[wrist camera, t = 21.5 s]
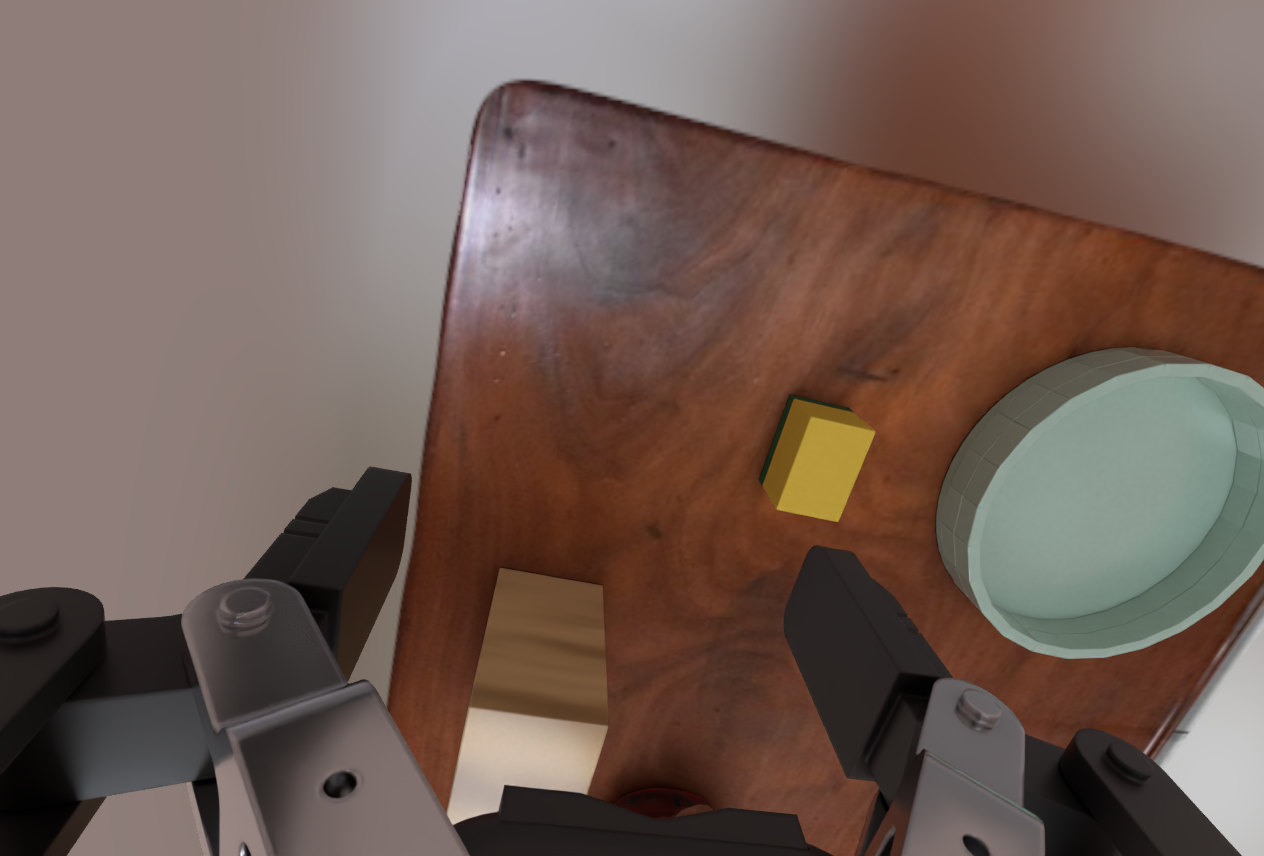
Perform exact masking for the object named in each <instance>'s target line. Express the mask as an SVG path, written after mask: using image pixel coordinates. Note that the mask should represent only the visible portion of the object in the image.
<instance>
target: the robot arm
mask: <svg viewBox="0 0 1264 856" xmlns="http://www.w3.org/2000/svg"><path fill="white" fill-rule="evenodd" d="M411 483H412V477H411V474H410V473H404V472H399V471H393V470H387V469H381V468H376V467H369V468H368V469H367V470H366V471H365V473H364V474H363V475H362V477H361V478H360V480H359V481H358V482H357V484H356V485H355V487H354V488H353V490H345V489H339V488H334V487H333V488H331V489H329V490H327V491H325V492H323V493H321V494H319V495H317V496H315V497H313V498H311V499H309V500H308V501H307V503H306V504H305V505H304V506H303V507H302V509H301V510H300V511H299V512H298V514H297V515H296V517H295V519H293V520H292V521H291V522H290V523H289V524H288V526H287V527H286V528H285V529H284V533H281V534H280V535H279V537H278V538H277V539H276V540H275V541H274V543H273V544H272V545H271V546H270V547H269V549H268V550H267V551H266V552H265V554H264V555H263V556H262V557H261V558H260V560H259V561H258V562H257V563H256V564H255V566H254V567H253V568H252V569H251V571H250V572H249V573H248V574H247V575H246V577H245V578H244V579H242V580H235V581H231V582H227V583H223V584H220V585H218V586H215V587H213V588H210V589H208V590H206V591H204V592H203V593H201V594H200V595H198V596H197V597H196V598H195V599H193V600H192V601H191V602H190V603H189V604H188V606H187V607H186V608H185V610H184V612H183V614H178V615H173V616H165V617H154V618H140V619H126V620H114V621H105V616H104V608H103V605H102V603H101V602H100V601H99V599H98V598H96V597H95V596H94V595H92V594H89V593H88V592H85V591H81V590H78V589H72V588H60V587H49V588H38V589H29V590H24V591H18V592H14V593H10V594H7V595H3V596H0V856H67V854H68V853H69V851H70V850H71V848H72V847H73V845H74V844H75V843H76V841H77V839H78V838H79V837H80V835H81V834H82V832H83V831H84V829H85V828H86V826H87V825H88V823H89V822H90V820H91V819H92V817H93V816H94V814H95V813H96V812H97V810H98V809H99V807H100V806H101V804H102V803H103V801H104V800H105V798H106V797H107V796H110V795H116V794H122V793H127V792H133V791H139V790H145V789H150V788H156V787H162V786H168V785H173V784H179V783H185V782H186V787H187V791H188V795H189V799H190V803H191V807H192V811H193V815H194V819H195V823H196V827H197V831H198V835H199V839H200V843H201V847H202V851H203V855H204V856H833V855H831V854H829V853H827V852H825V851H823V850H821V849H819V848H817V847H815V846H813V845H810V844H807V843H806V841H805V838H804V835H803V832H802V829H801V826H800V823H799V820H798V817H797V815H793V814H784V813H774V812H764V811H754V810H745V809H735V808H725V809H719V810H714V811H708V812H702V813H696V814H691V815H685V816H679V817H673V818H667V819H655V818H651V817H648V816H645V815H642V814H640V813H637V812H634V811H631V810H628V809H625V808H622V807H620V806H617V805H614V804H611V803H608V802H605V801H603V800H600V799H597V798H594V797H591V796H588V795H585V794H583V793H579V792H569V791H559V790H549V789H539V788H530V787H520V786H510V785H504V788H503V793H502V797H501V802H500V806H499V810H498V812H493V813H487V814H482V815H479V816H475V817H472V818H469V819H465V820H463V821H460V822H458V823H456V824H453V825H452V823H451V821H450V819H449V817H448V816H447V814H446V812H445V810H444V809H443V807H442V805H441V803H440V802H439V800H438V798H437V796H436V794H435V793H434V791H433V789H432V787H431V786H430V784H429V782H428V780H427V778H426V777H425V775H424V773H423V771H422V770H421V768H420V766H419V764H418V763H417V761H416V759H415V757H414V755H413V754H412V752H411V750H410V748H409V747H408V745H407V743H406V741H405V740H404V738H403V736H402V734H401V732H400V731H399V729H398V727H397V725H396V724H395V722H394V720H393V718H392V717H391V715H390V713H389V711H388V709H387V708H386V706H385V704H384V702H383V701H382V699H381V697H380V696H379V694H378V692H377V690H376V689H375V687H374V686H373V685H372V684H371V683H370V682H369V681H368V680H365V679H364V680H360V681H357V682H354V683H351V684H349V683H348V680H349V678H350V676H351V674H352V672H353V670H354V667H355V665H356V663H357V661H358V659H359V656H360V654H361V652H362V650H363V648H364V645H365V643H366V641H367V639H368V637H369V634H370V632H371V630H372V628H373V626H374V624H375V621H376V619H377V617H378V615H379V612H380V610H381V608H382V606H383V604H384V602H385V599H386V597H387V595H388V592H389V590H390V588H391V586H392V584H393V582H394V580H395V577H396V575H397V572H398V569H399V565H400V561H401V557H402V553H403V547H404V540H405V532H406V524H407V516H408V508H409V499H410V492H411ZM784 632H785V636H786V639H787V642H788V644H789V646H790V648H791V651H792V653H793V655H794V658H795V660H796V662H797V665H798V667H799V669H800V672H801V674H802V676H803V678H804V681H805V683H806V685H807V688H808V690H809V692H810V695H811V697H812V699H813V701H814V704H815V706H816V708H817V711H818V713H819V715H820V718H821V720H822V722H823V725H824V727H825V729H826V731H827V734H828V736H829V738H830V741H831V743H832V745H833V748H834V750H835V752H836V754H837V757H838V759H839V761H840V764H841V766H842V768H843V771H844V773H845V775H846V777H847V778H850V779H859V780H868V781H876V782H877V785H878V787H879V789H878V791H877V793H876V795H875V797H874V799H873V800H872V803H871V805H870V808H869V811H868V814H867V817H866V821H865V824H864V827H863V830H862V833H861V836H860V840H859V843H858V846H857V849H856V852H855V855H854V856H1241V854H1240V853H1239V852H1238V851H1237V850H1236V849H1235V848H1234V847H1233V846H1232V845H1231V844H1230V843H1229V841H1228V840H1227V839H1226V838H1225V837H1224V836H1223V835H1222V834H1221V833H1220V831H1219V830H1218V829H1217V828H1216V827H1215V826H1214V825H1213V824H1212V823H1211V822H1210V821H1209V819H1208V818H1207V817H1206V816H1205V815H1204V814H1203V813H1202V812H1201V811H1200V810H1199V809H1198V808H1197V806H1196V805H1195V804H1194V803H1193V802H1192V801H1191V800H1190V799H1189V798H1188V796H1187V795H1186V794H1185V793H1184V792H1183V791H1182V790H1181V789H1180V788H1179V787H1178V786H1177V785H1176V783H1175V782H1174V781H1173V780H1172V779H1171V778H1170V777H1169V776H1168V775H1167V774H1166V772H1165V771H1164V770H1163V769H1162V768H1161V767H1160V766H1158V765H1157V764H1156V763H1155V762H1154V761H1153V760H1152V759H1150V758H1149V757H1148V756H1147V755H1145V754H1144V753H1143V752H1141V751H1140V750H1138V749H1137V748H1135V747H1134V746H1132V745H1130V744H1129V743H1127V742H1125V741H1124V740H1122V739H1120V738H1118V737H1116V736H1113V735H1111V734H1109V733H1106V732H1103V731H1100V730H1096V729H1081V730H1079V731H1078V732H1077V733H1076V734H1075V736H1074V737H1073V739H1072V740H1071V742H1070V743H1069V745H1068V746H1067V748H1066V749H1063V748H1061V747H1058V746H1055V745H1053V744H1050V743H1047V742H1045V741H1042V740H1039V739H1037V738H1034V737H1031V736H1029V735H1026V734H1025V732H1024V729H1023V726H1022V724H1021V723H1020V721H1019V719H1018V718H1017V717H1016V715H1015V714H1014V713H1013V712H1012V711H1011V710H1010V709H1009V708H1008V707H1007V706H1006V705H1005V704H1004V703H1003V702H1002V701H1000V700H999V699H998V698H996V697H995V696H994V695H992V694H991V693H989V692H988V691H986V690H984V689H982V688H981V687H979V686H976V685H974V684H972V683H969V682H967V681H964V680H960V679H956V678H953V677H952V675H951V674H950V673H949V671H948V670H947V669H946V667H945V666H944V664H943V663H942V662H941V660H940V659H939V658H938V656H937V655H936V653H935V652H934V651H933V649H932V648H931V647H930V645H929V644H928V642H927V641H926V640H925V638H924V637H923V636H922V634H920V633H918V629H917V627H916V626H915V625H914V623H913V622H912V621H911V619H910V618H907V614H906V612H905V611H904V610H903V608H902V607H901V605H900V604H899V603H898V601H897V600H896V599H895V597H894V596H893V595H892V594H890V593H889V592H888V591H887V590H886V589H884V588H883V587H882V586H881V585H880V584H878V583H877V582H876V581H875V580H874V579H872V578H871V577H870V575H869V574H868V573H867V571H866V570H865V568H864V567H863V566H862V564H861V563H860V561H859V560H858V558H857V557H856V556H855V554H854V553H852V552H851V551H846V550H841V549H835V548H829V547H823V546H818V545H817V546H813V547H812V548H811V549H810V550H809V552H808V553H807V555H806V558H805V560H804V563H803V565H802V568H801V570H800V573H799V575H798V578H797V580H796V583H795V585H794V588H793V591H792V593H791V596H790V598H789V601H788V603H787V606H786V609H785V614H784Z"/></svg>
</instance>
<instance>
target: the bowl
mask: <svg viewBox="0 0 1264 856" xmlns="http://www.w3.org/2000/svg"><path fill="white" fill-rule="evenodd" d="M936 534H937V541H938V548H939V551H940V554H941V557H942V561H943V564H944V566H945V568H946V569H947V571H948V573H949V575H950V577H951V578H952V580H953V581H954V582H955V584H956V585H957V587H958V588H959V589H960V590H961V591H962V592H963V593H964V594H965V595H966V596H967V598H968V599H969V600H970V601H971V602H972V603H973V604H974V605H975V606H976V607H977V608H978V610H979V611H980V612H981V613H982V614H983V615H984V616H985V617H986V618H987V619H988V620H989V621H990V623H991V624H992V625H993V626H994V627H995V628H996V629H997V630H998V631H999V632H1000V633H1001V634H1002V635H1003V636H1004V637H1006V638H1008V639H1010V640H1012V641H1014V642H1015V643H1017V644H1019V645H1021V646H1023V647H1025V648H1026V649H1028V650H1030V651H1033V652H1037V653H1042V654H1046V655H1051V656H1056V657H1061V658H1066V659H1076V658H1103V657H1104V658H1105V657H1109V656H1114V655H1118V654H1122V653H1126V652H1130V651H1135V650H1139V649H1143V648H1145V647H1148V646H1150V645H1152V644H1154V643H1157V642H1159V641H1161V640H1164V639H1166V638H1168V637H1170V636H1173V635H1175V634H1177V633H1179V632H1182V631H1183V630H1185V629H1186V628H1188V627H1189V626H1191V625H1192V624H1194V623H1195V622H1197V621H1198V620H1200V619H1201V618H1203V617H1204V616H1206V615H1207V614H1209V613H1210V612H1212V611H1213V610H1215V609H1216V608H1218V607H1219V606H1220V605H1221V604H1222V603H1223V602H1224V601H1225V600H1227V599H1228V598H1229V597H1230V596H1231V595H1232V594H1233V593H1234V592H1235V591H1236V590H1237V589H1238V588H1239V587H1240V586H1241V585H1242V584H1243V583H1245V582H1246V581H1247V580H1248V579H1249V578H1250V576H1252V575H1253V573H1254V572H1255V571H1256V569H1257V568H1258V567H1259V565H1260V564H1261V562H1262V561H1263V560H1264V388H1263V387H1262V386H1261V385H1259V384H1258V383H1257V382H1255V381H1254V380H1253V379H1252V378H1250V377H1249V376H1247V375H1244V374H1241V373H1238V372H1235V371H1232V370H1228V369H1225V368H1222V367H1219V366H1216V365H1213V364H1209V363H1206V362H1202V361H1199V360H1195V359H1192V358H1188V357H1185V356H1182V355H1178V354H1175V353H1171V352H1168V351H1163V350H1156V349H1150V348H1137V347H1126V348H1111V349H1106V350H1100V351H1095V352H1090V353H1086V354H1083V355H1080V356H1077V357H1073V358H1070V359H1067V360H1065V361H1063V362H1060V363H1058V364H1056V365H1054V366H1051V367H1049V368H1047V369H1045V370H1043V371H1041V372H1040V373H1038V374H1036V375H1034V376H1033V377H1031V378H1029V379H1027V380H1026V381H1025V382H1023V383H1022V384H1020V385H1019V386H1018V387H1016V388H1015V389H1013V390H1012V391H1011V392H1009V393H1008V394H1007V395H1006V396H1004V397H1003V398H1002V399H1001V400H1000V401H999V402H998V403H997V404H995V405H994V406H993V407H992V408H991V409H990V410H989V411H988V412H987V413H986V414H985V415H984V417H983V418H982V419H981V420H980V421H979V422H978V423H977V424H976V425H975V427H974V428H973V429H972V431H971V432H970V433H969V435H968V436H967V437H966V439H965V440H964V442H963V443H962V445H961V446H960V448H959V450H958V452H957V453H956V455H955V457H954V459H953V460H952V462H951V465H950V467H949V469H948V472H947V474H946V476H945V479H944V482H943V485H942V489H941V492H940V495H939V500H938V507H937V514H936Z"/></svg>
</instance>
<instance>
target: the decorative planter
mask: <svg viewBox="0 0 1264 856" xmlns="http://www.w3.org/2000/svg"><path fill="white" fill-rule="evenodd" d="M614 805H617V806H620V807H622V808H625V809H628V810H631V811H634V812H637V813H640V814H642V815H645V816H648V817H651V818H655V819H667V818H673V817H679V816H685V815H691V814H696V813H702V812H708V811H714V809H713V808H712V807H711V805H710V804H709V803H708V802H707V801H706V800H704V799H703V798H701V797H700V796H698V795H695V794H692V793H690V792H687V791H683V790H680V789H674V788H647V789H642V790H638V791H635V792H632V793H630V794H627V795H625V796H623V797H622V798H620V799H619V800H618V801H617V802H615V803H614Z"/></svg>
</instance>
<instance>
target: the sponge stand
mask: <svg viewBox="0 0 1264 856" xmlns="http://www.w3.org/2000/svg"><path fill="white" fill-rule="evenodd" d="M608 727H609V723H608V700H607V676H606V652H605V628H604V605H603V586H602V585H597V584H591V583H585V582H579V581H574V580H568V579H562V578H556V577H551V576H545V575H539V574H534V573H528V572H522V571H516V570H511V569H505V568H500V569H499V573H498V578H497V582H496V587H495V591H494V595H493V600H492V604H491V609H490V613H489V618H488V622H487V627H486V631H485V636H484V640H483V644H482V649H481V653H480V658H479V662H478V667H477V671H476V676H475V680H474V685H473V689H472V693H471V698H470V702H469V707H468V712H467V716H466V721H465V726H464V730H463V735H462V740H461V745H460V749H459V754H458V759H457V764H456V768H455V773H454V778H453V783H452V787H451V792H450V797H449V802H448V806H447V811H446V814H447V816H448V817H449V819H450V821H451V823H452V825H453V824H456V823H458V822H460V821H463V820H465V819H469V818H472V817H475V816H479V815H482V814H487V813H493V812H498V810H499V806H500V802H501V797H502V793H503V788H504V785H510V786H520V787H530V788H539V789H549V790H559V791H569V792H579V793H583V794H585V795H587V794H588V791H589V788H590V785H591V781H592V778H593V775H594V772H595V769H596V765H597V762H598V759H599V756H600V753H601V749H602V746H603V743H604V740H605V737H606V733H607V730H608Z"/></svg>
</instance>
